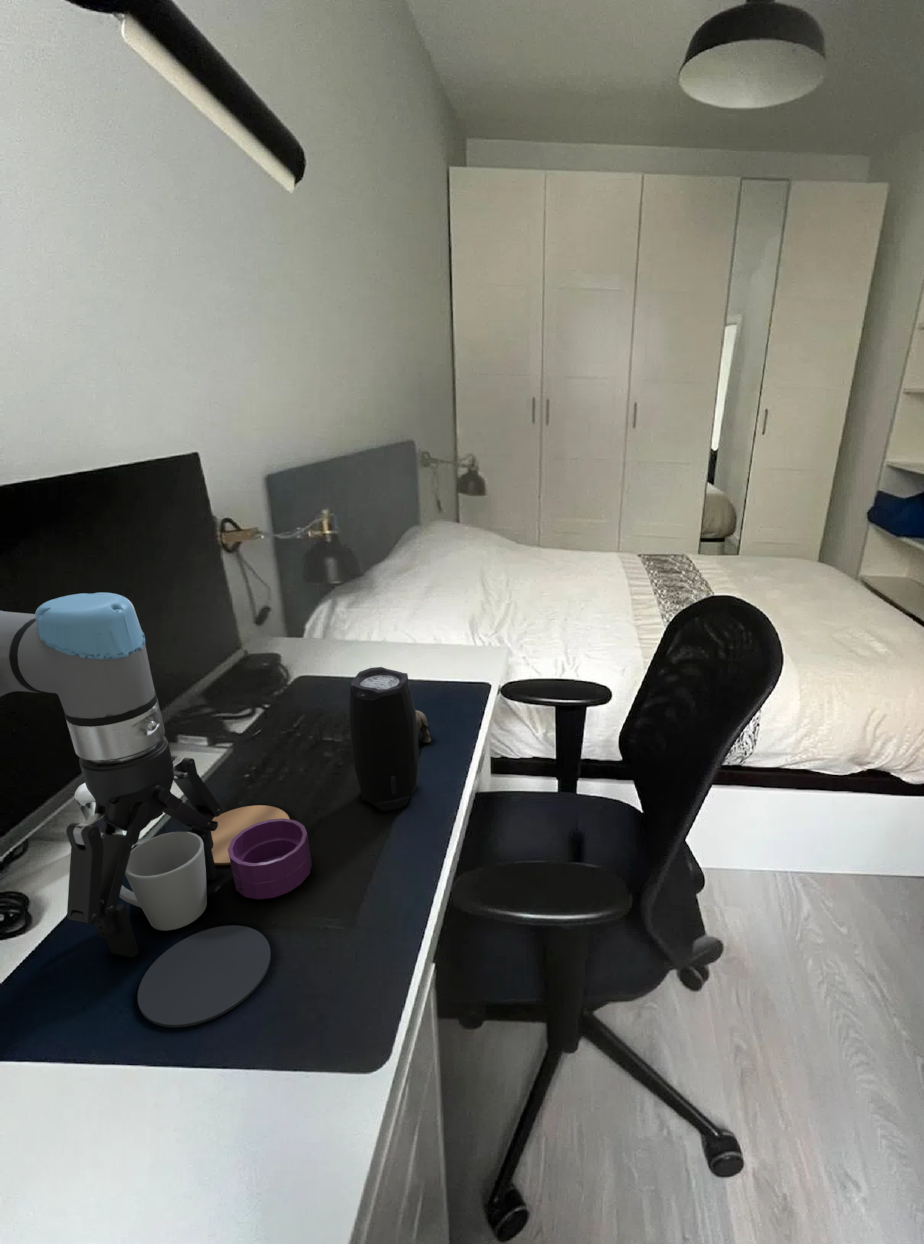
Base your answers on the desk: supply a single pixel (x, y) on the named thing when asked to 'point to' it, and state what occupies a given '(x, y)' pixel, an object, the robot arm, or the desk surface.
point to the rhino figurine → (422, 726)
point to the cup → (168, 879)
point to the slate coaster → (204, 976)
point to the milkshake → (88, 804)
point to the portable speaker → (384, 737)
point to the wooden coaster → (238, 827)
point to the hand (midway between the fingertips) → (168, 911)
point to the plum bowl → (270, 858)
